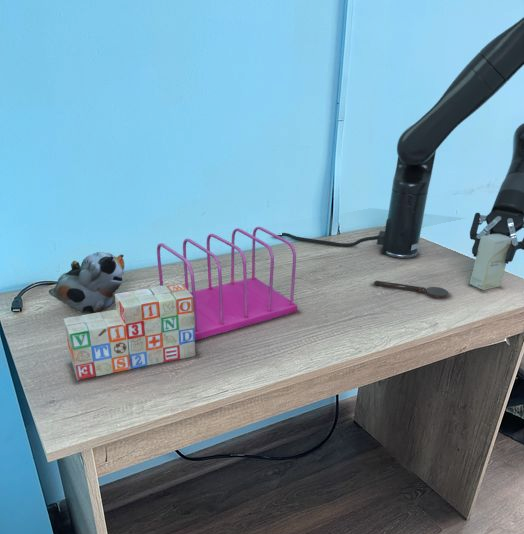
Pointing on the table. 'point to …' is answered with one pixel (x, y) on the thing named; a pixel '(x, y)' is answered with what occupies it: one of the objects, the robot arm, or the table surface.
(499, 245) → the cosmetic box
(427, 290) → the spoon
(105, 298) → the lucky cat figurine
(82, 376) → the stack of blocks
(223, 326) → the file sorter
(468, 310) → the table surface
